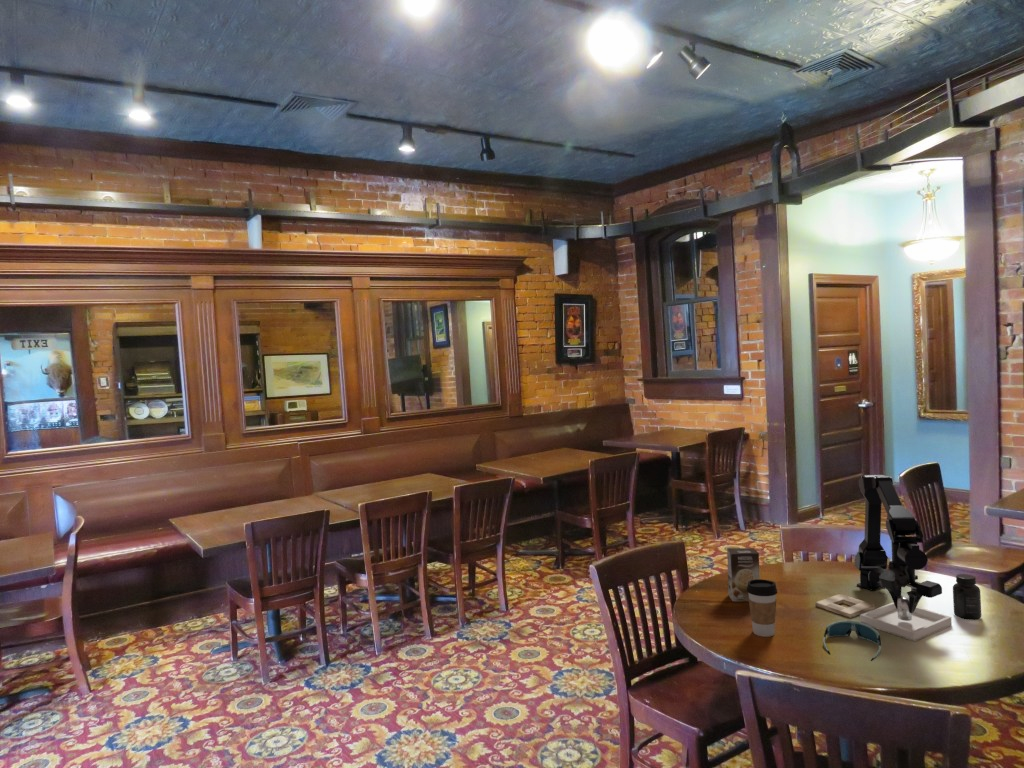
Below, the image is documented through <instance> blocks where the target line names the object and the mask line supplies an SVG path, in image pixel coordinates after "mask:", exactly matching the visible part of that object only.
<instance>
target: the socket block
mask: <svg viewBox="0 0 1024 768" xmlns="http://www.w3.org/2000/svg"><path fill="white" fill-rule="evenodd" d="M841 604H844V605H848V607H845V606H843V605H841ZM815 607H818V608H820V609H823V610H827V611H830V612H832V613H835V614H837V615H840V616H844V617H846V618H849V619H851V618H855V617H857V616H860V615H861V614H863V613H866V612H869V611H871V610H874V609H876V604H874V603H871V602H867V601H865V600H861V599H858V598H854V597H852V596H848V595H846V594H842V593H838V594H835V595H832V596H829V597H827V598H824V599H821V600H818V601H815Z"/></svg>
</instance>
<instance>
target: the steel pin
mask: <svg viewBox="0 0 1024 768" xmlns="http://www.w3.org/2000/svg"><path fill="white" fill-rule="evenodd" d="M897 609H898V618H899V619H901V620H905V621H910V620H912V614H911V613H910V610H909V596H907V595H901V596H898V597H897Z"/></svg>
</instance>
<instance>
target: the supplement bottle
mask: <svg viewBox="0 0 1024 768" xmlns="http://www.w3.org/2000/svg"><path fill="white" fill-rule="evenodd" d="M955 579H956V581H955V582H956V583H955V584H953V586H952V599H953V601H952V602H953V603H952V604H953V614H954V616H955V617H957V618H959V619H962V620H967V621H977V620H980V619H982V601H981V599H982V597H981V596H982V595H981V588H980V587H979V586H978V585H977V579H976V576H975V575H972V574H967V573H960V574H956V577H955Z"/></svg>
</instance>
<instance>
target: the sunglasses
mask: <svg viewBox="0 0 1024 768" xmlns="http://www.w3.org/2000/svg"><path fill="white" fill-rule="evenodd" d="M825 627H826V628H825V630H824V633H823V638H822V641H823V646H824V649H825V651H826V652H827V653H828V655H831V652H830V650H829V649H828V648H827V645H826V639H827V638H826V637H829V638H833V637H839V636H841V637H847V636H848V637H850V636H851V634H852V632H855V634H856V636H857V638H861V639H865V640H868V641H870V642H873V643H875V644H876V645H878V650H877V653H876V654H875V655H874V656H873V657H872V658H871V659H870V662H872V661H874V660H875V659H877V658H878V657H879V655H880V654H881V650H882V641H881V640H882V639H881V636H880V635H881V634H880V633H879V631H878V630H876V628H873V627H870V626H868V625H866V624H864V623H860V621H856V620H837V621H834V622H831V623H829V624H828V625H827V626H825Z"/></svg>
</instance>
